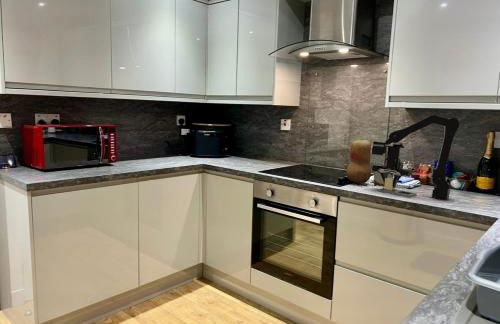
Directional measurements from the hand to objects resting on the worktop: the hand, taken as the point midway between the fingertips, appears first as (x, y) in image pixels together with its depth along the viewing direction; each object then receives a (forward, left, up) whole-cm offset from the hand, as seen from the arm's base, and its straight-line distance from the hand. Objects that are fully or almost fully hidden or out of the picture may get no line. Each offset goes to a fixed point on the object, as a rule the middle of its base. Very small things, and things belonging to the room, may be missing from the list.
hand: (390, 187), depth 188 cm
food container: (+10, -14, -4) cm, 17 cm away
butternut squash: (+24, -10, -4) cm, 26 cm away
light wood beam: (0, 0, -2) cm, 2 cm away
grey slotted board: (-4, 0, -4) cm, 5 cm away
